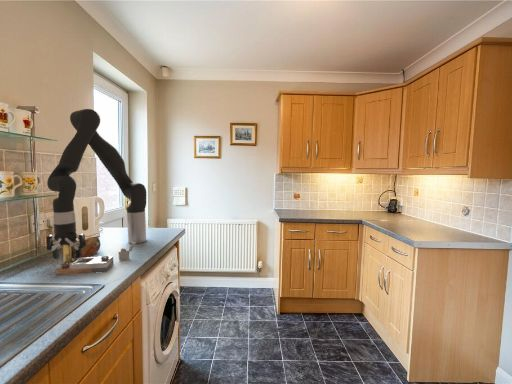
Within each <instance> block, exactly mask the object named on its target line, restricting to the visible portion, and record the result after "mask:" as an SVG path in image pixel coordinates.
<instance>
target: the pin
mask: <svg viewBox="0 0 512 384" xmlns="http://www.w3.org/2000/svg"><path fill="white" fill-rule="evenodd" d="M61 247H62V257H63V260H62V261H63V263H67V262H69V263H73V258H72V253H71V245H61Z"/></svg>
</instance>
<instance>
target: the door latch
mask: <svg viewBox="0 0 512 384" xmlns="http://www.w3.org/2000/svg"><path fill="white" fill-rule="evenodd" d="M114 265H115V263H114V256H113V255H103V256H88V257H82V258H79V259H75V261H72V263H69V262H67V263H64V262H63V263H61V266H60V267H58V268H57V269H55V270H54V271H55V275H56V274H66V275H81V273H84V274H97V273H96V272H102V273H107V272H108V271H109V270H110V269H111V268H112V267H113V266H114Z"/></svg>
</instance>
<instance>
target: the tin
mask: <svg viewBox="0 0 512 384" xmlns="http://www.w3.org/2000/svg"><path fill="white" fill-rule="evenodd" d="M77 241H78V242H79V240H77ZM85 242H86V246H85V247H83V248H81V253H82V255H81V256H80V257H79V258H82V257H92V256H93V255H95V254H97V253H98V252H99V251H100V248H101V240H100V239H99V238H98V237H96V236H89V237H85ZM79 244H80V243H79ZM71 253H72V260H77V259H79V258H76V249H75V248H74V247H72V246H71Z"/></svg>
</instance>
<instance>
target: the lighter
mask: <svg viewBox="0 0 512 384" xmlns="http://www.w3.org/2000/svg"><path fill="white" fill-rule="evenodd" d="M130 244H131V245H130V247H129V249H127V248H126V247H123V248H121V249H119V250H118V261H119V260H121V261H128V260H127V259H129V258H131V257H130V252H132V251H133V249H134V247H135V245H136V244H137V243H136V242H132V243H130ZM129 260H130V259H129Z"/></svg>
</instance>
